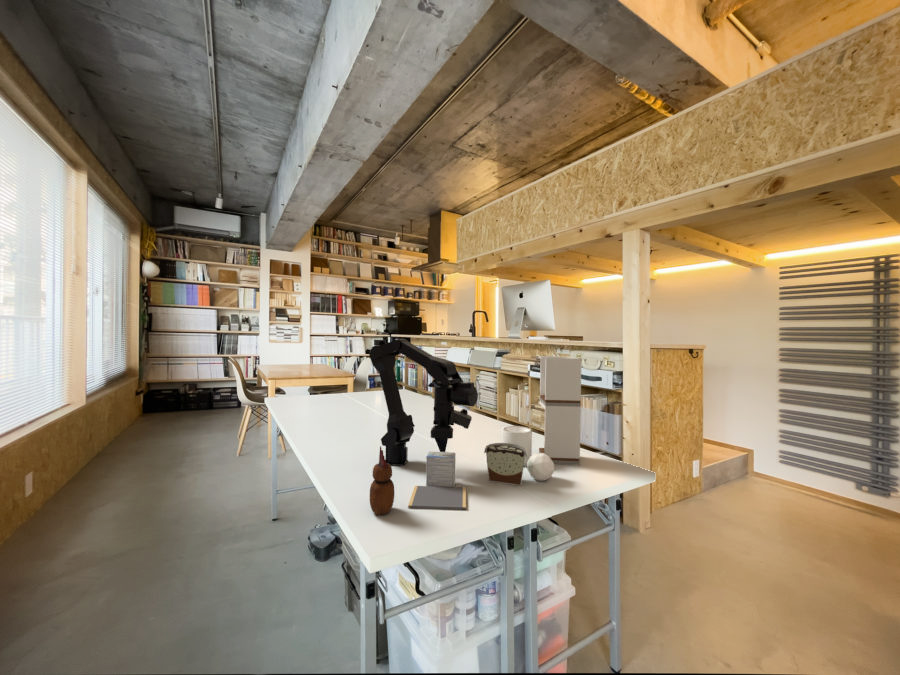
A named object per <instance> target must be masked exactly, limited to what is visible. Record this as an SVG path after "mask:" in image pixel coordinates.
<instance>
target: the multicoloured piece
mask: <svg viewBox="0 0 900 675" xmlns="http://www.w3.org/2000/svg"><path fill="white" fill-rule="evenodd" d="M483 453H484V454H485V456H486V465H487V468H486V469H487V477H488V482H491V483H498V484H507V485H513V486H522V483H523V481H522V480H523V472H524V458H525V455H526V458H527V454H526V451H525V449H524V448H523V447H522V446H519V445H516V444H510V443H501V442H495V443H490V444H488V445H486V446H485V447H484V452H483Z"/></svg>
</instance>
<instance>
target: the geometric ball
mask: <svg viewBox="0 0 900 675" xmlns="http://www.w3.org/2000/svg"><path fill="white" fill-rule="evenodd" d="M526 466H527V468H526V469H527V471H528V473H529V475H530V476H531V477H532V478H533V479H534V480H536V481H546V480H548V479H550V478H552V476H553V474H554V472H555V464H554V463H553V461H552V460H551V459H550V457H549V456H547V455H546V454H544V453H539V452H537V453H534V454H532V456H531V457H530V458H529V460H528V462H527V465H526Z"/></svg>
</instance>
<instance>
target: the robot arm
mask: <svg viewBox="0 0 900 675" xmlns="http://www.w3.org/2000/svg"><path fill="white" fill-rule="evenodd" d="M399 355H403V356H404V357H405V358H408V359H410V361H413V362H414V363H416V364H418V365H419V366H421V367H423V368H424V370H426V373H427V374H428V376H430V377H431V378H432V380H431V382H430V383H428V385H427V386H428V387H429V388H434V392H433V394H434V396H433V397H434V398H433V423H432V424H433V426H432V427H431V429H430V438H431V439H434V440H435V442H436V445H437V447H438V450H439V452H446V449H447V445H448V440H449V439H453V437H454V428H453V427H452V426H455V425H457V426H460V427H463V428H464V429H466V430H467V429H469V427H470V426H471V425H470V424H471V422H472V420H473V419H472V416H471V415H470V414H469V413H468V409H465V408H462V409H461V410H455V405H459V406H467V407H474V406H476V404H477V403H478V400H479V398H478V397H479V393H478V390H477V388H476V387H475V382H472V381H471V382H464V380H463V378H462V377H461V375H460V373H459V372H458V370H457V367H456V364H455V362H453V361H451V360H448V359H445V358H443V357H442V358H441V357H437V356H434V355H432V354H430V353H429V352H427V351H425V350H424V349H421V348H420V347H419V346H417V345H415V344H413V343H412V342H409V340H408V339H405V338H395V339H393V340H391V341H389V342H387V343H383V344H381V345H376V344H375V345H373V346H372V347H371V348H370V351H369V358H370V362H371V365H372V366H373V367H374V369H375V370H376V371H377V372H378V374H379V378H380V381H381V386H382V390H383V394H384V399H385V400H384V401H385V403H386V408H387V412H388V418H387V422H386V433H385V434H383V436H382V437H381V439H380V443H381V445H382V446H383V447H385V457H384V458H385V461H386V463H388V464H390V465H391V466H405V464H406V463H407V461H408V455H409V452H408V451H409V450H408V449H409V448H408V446H407V443H408V442H410V440H411V438H412V436H413V434H414V432H415V430H414V429H415V427H416V425H415V424H414V422H413V416H412V415H411V414H407V413H406V412H405V410H404V406H403V402H402V398H401V394H400V389H399V386H398V380H397V376H396V373H395V366H396V362H397V359H396V358H397V356H399Z"/></svg>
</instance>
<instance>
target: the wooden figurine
mask: <svg viewBox="0 0 900 675" xmlns="http://www.w3.org/2000/svg"><path fill="white" fill-rule="evenodd" d="M378 456H379V457H378V463H376V464H375V465H373V468H372V479H373V481H372V482H371V484H370V487H369V488H370V489H369V506H370V509H371V511H372V513H374V514H376V515H378V516H382V515H386V514H388V513H390V511H391V510H392V508H393V506H394V501H395V485H394V482H393V481H392V480H391V479H392V477H393V468H392V465H390V464H388V463H386V461H385V458H386V457H385V455H384V450H383V449H382V446H379V455H378Z"/></svg>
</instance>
